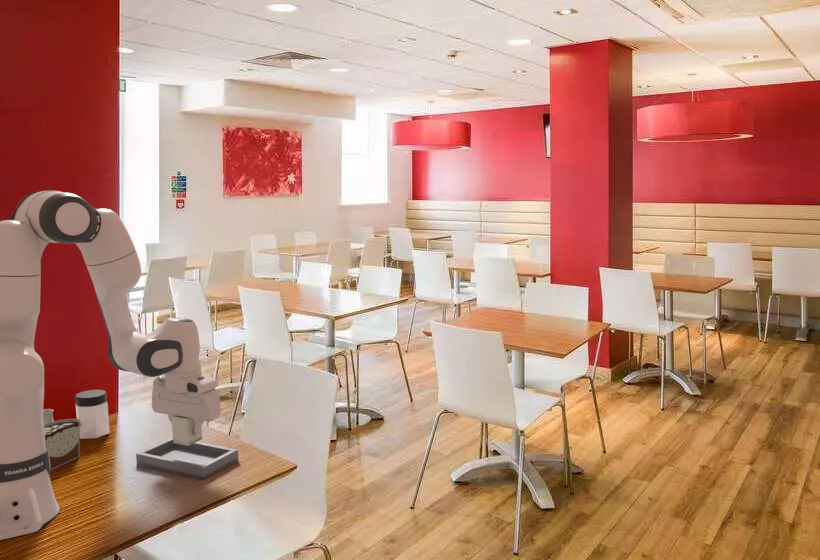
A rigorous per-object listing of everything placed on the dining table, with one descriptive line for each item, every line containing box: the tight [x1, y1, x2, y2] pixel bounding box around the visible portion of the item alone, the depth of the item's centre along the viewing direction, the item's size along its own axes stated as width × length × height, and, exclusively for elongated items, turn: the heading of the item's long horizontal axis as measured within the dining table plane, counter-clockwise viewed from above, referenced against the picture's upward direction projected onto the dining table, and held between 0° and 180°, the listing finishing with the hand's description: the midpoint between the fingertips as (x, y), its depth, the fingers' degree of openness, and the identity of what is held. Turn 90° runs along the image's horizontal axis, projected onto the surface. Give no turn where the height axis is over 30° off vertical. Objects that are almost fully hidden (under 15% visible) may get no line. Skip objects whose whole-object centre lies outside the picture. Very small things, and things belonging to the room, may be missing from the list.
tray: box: [135, 437, 239, 481], centre depth 178 cm, size 13×22×3 cm, turn 64°
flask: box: [43, 408, 55, 425], centre depth 191 cm, size 7×7×10 cm
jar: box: [74, 389, 110, 440], centre depth 199 cm, size 9×8×12 cm
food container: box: [44, 418, 81, 472], centre depth 179 cm, size 12×6×10 cm, turn 161°
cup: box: [171, 416, 203, 446], centre depth 177 cm, size 5×5×8 cm
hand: (187, 432), depth 177 cm, fingers closed on cup, 5 cm apart
